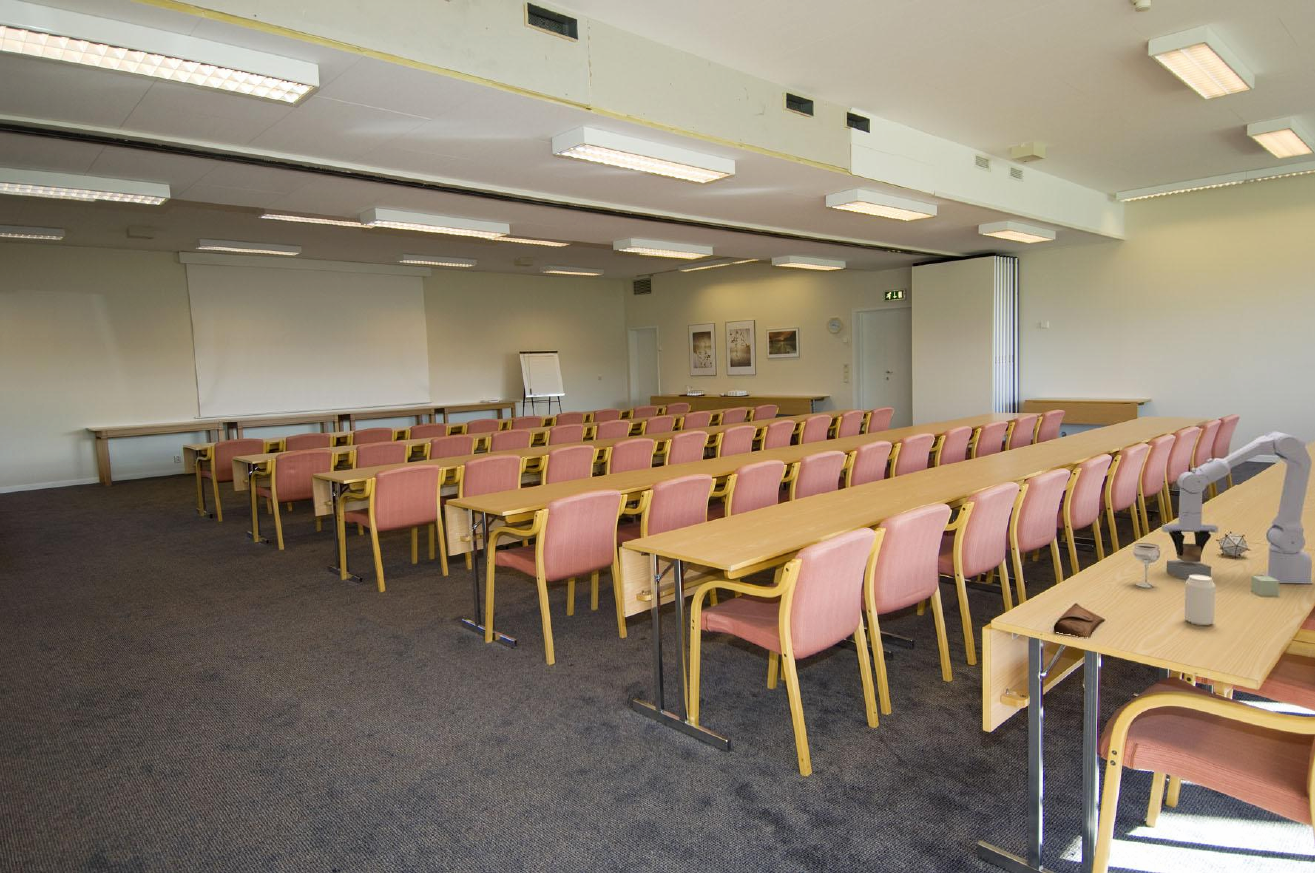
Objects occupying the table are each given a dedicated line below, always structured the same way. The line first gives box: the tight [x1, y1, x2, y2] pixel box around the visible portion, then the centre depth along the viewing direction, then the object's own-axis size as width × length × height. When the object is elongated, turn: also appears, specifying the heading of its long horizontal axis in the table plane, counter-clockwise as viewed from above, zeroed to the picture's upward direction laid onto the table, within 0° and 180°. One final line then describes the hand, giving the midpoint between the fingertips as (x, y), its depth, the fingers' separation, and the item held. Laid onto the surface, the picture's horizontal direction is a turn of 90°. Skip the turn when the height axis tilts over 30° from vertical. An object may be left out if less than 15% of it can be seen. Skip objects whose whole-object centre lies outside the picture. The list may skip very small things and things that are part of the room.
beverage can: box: [1184, 575, 1216, 626], centre depth 194 cm, size 6×6×12 cm
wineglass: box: [1132, 542, 1161, 589], centre depth 225 cm, size 7×7×12 cm
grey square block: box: [1166, 559, 1212, 581], centre depth 233 cm, size 8×8×4 cm
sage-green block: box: [1250, 575, 1280, 597], centre depth 214 cm, size 4×4×4 cm
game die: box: [1215, 531, 1252, 560], centre depth 250 cm, size 9×8×10 cm
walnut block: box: [1176, 543, 1202, 563], centre depth 232 cm, size 4×4×4 cm
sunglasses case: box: [1053, 602, 1106, 639], centre depth 196 cm, size 18×7×7 cm, turn 139°
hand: (1188, 555), depth 232 cm, fingers closed on walnut block, 4 cm apart
